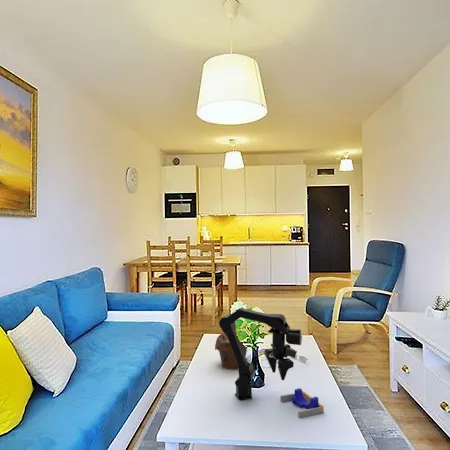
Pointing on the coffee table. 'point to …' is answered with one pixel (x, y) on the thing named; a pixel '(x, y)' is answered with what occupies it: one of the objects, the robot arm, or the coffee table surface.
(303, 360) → the eyeglasses
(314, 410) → the frame
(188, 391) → the coffee table surface
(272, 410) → the coffee table surface
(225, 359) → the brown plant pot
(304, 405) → the cable clip
